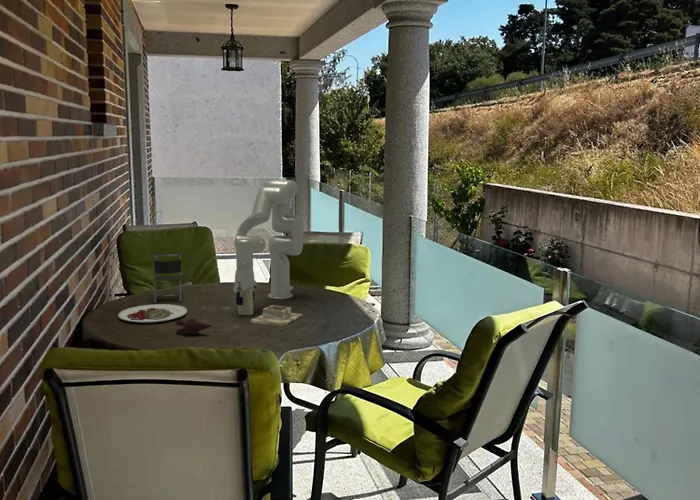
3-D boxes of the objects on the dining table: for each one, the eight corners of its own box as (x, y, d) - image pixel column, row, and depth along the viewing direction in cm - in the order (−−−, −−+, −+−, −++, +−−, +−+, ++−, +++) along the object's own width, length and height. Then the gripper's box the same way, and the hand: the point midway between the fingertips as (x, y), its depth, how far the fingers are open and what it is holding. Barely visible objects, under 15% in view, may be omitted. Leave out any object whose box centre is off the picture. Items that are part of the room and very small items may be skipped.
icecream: (213, 317, 273) (179, 318, 275) (207, 317, 265) (171, 318, 268) (214, 334, 272) (179, 335, 274) (207, 334, 265) (172, 336, 267)
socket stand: (272, 312, 304) (272, 301, 304) (302, 316, 298) (302, 305, 297) (250, 322, 288) (250, 310, 287) (282, 326, 282) (282, 315, 281)
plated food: (200, 312, 306) (200, 305, 305) (156, 328, 279) (156, 321, 278) (150, 305, 318) (150, 298, 318) (103, 320, 291) (103, 313, 291)
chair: (182, 295, 338) (180, 253, 335) (181, 303, 322) (179, 259, 318) (156, 296, 336) (154, 253, 332) (153, 304, 319) (151, 259, 315)
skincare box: (253, 312, 304) (253, 287, 302) (251, 315, 300) (250, 289, 298) (240, 312, 305) (239, 287, 303) (237, 315, 300) (237, 289, 298)
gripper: (248, 262, 308) (249, 297, 311) (226, 268, 292) (227, 305, 295) (262, 263, 305) (262, 299, 308) (240, 269, 289) (241, 307, 292)
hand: (245, 302), depth 301 cm, fingers open, 9 cm apart
